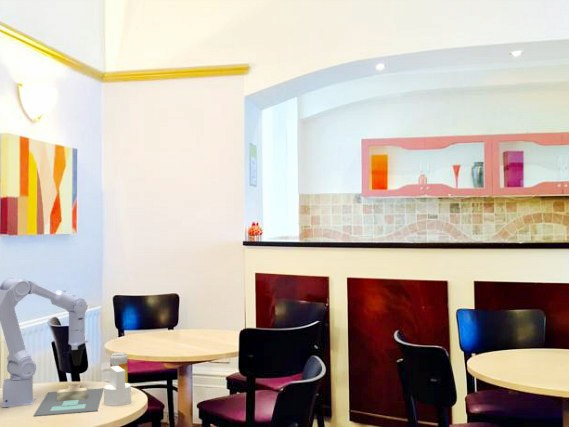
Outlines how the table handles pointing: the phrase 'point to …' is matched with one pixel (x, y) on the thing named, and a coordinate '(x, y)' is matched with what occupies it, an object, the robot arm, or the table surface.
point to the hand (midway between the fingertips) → (76, 365)
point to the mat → (69, 404)
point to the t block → (72, 393)
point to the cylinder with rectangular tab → (117, 388)
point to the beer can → (119, 362)
